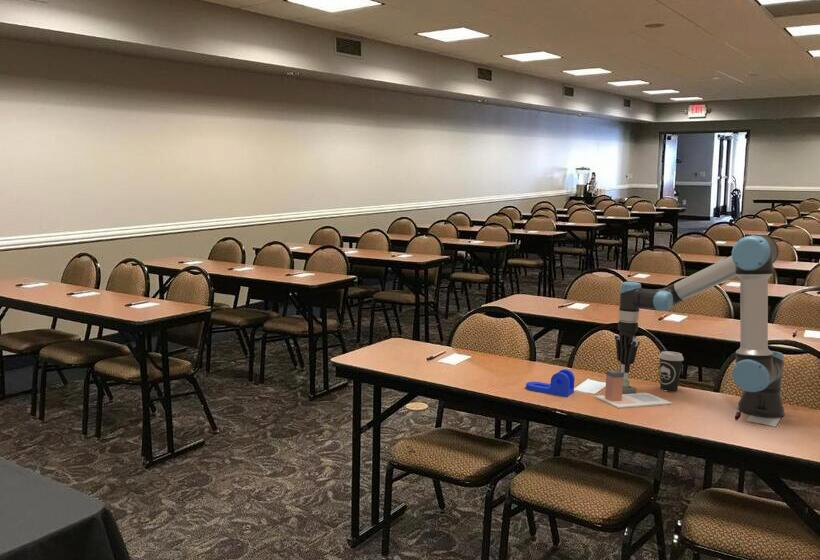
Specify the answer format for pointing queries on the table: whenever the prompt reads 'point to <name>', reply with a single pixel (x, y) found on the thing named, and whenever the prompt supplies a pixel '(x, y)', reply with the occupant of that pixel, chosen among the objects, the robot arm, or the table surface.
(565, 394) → the bracket
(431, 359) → the table surface
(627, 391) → the button housing
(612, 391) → the lidded container
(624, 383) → the button
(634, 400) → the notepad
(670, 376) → the coffee cup
